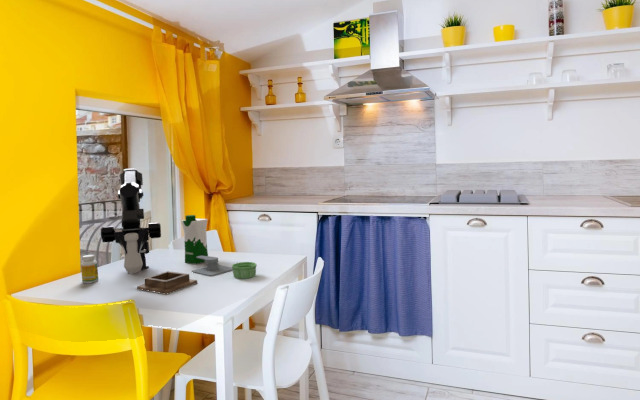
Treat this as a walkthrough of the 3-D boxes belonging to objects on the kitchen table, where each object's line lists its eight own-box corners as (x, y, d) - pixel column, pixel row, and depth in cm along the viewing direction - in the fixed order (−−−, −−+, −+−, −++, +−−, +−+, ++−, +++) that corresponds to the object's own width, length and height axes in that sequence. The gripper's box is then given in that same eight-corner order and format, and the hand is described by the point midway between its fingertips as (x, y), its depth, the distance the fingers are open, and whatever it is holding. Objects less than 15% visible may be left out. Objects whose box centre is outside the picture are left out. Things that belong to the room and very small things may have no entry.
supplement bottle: (82, 280, 170) (80, 255, 169) (98, 278, 172) (96, 253, 171) (82, 284, 165) (79, 258, 164) (98, 282, 167) (96, 256, 166)
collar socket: (137, 289, 156) (136, 279, 156) (168, 278, 168) (168, 269, 168) (166, 294, 149) (165, 283, 149) (197, 283, 162) (196, 273, 161)
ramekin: (245, 280, 163) (245, 268, 162) (227, 277, 168) (226, 266, 167) (262, 275, 170) (261, 263, 170) (243, 272, 175) (243, 260, 175)
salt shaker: (126, 270, 156) (123, 232, 154) (144, 268, 157) (141, 231, 156) (122, 274, 150) (120, 235, 149) (141, 273, 151) (138, 234, 150)
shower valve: (211, 252, 188) (235, 256, 179) (211, 265, 189) (236, 270, 180) (185, 258, 178) (210, 263, 169) (186, 272, 179) (211, 277, 170)
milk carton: (181, 262, 194) (178, 215, 192) (197, 258, 201) (195, 213, 199) (196, 265, 189) (193, 216, 187) (212, 260, 196) (209, 214, 194)
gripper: (98, 202, 151) (98, 241, 142) (158, 199, 158) (161, 236, 149) (102, 223, 160) (102, 261, 151) (159, 219, 166) (162, 255, 157)
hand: (132, 253), depth 152 cm, fingers closed on salt shaker, 3 cm apart
